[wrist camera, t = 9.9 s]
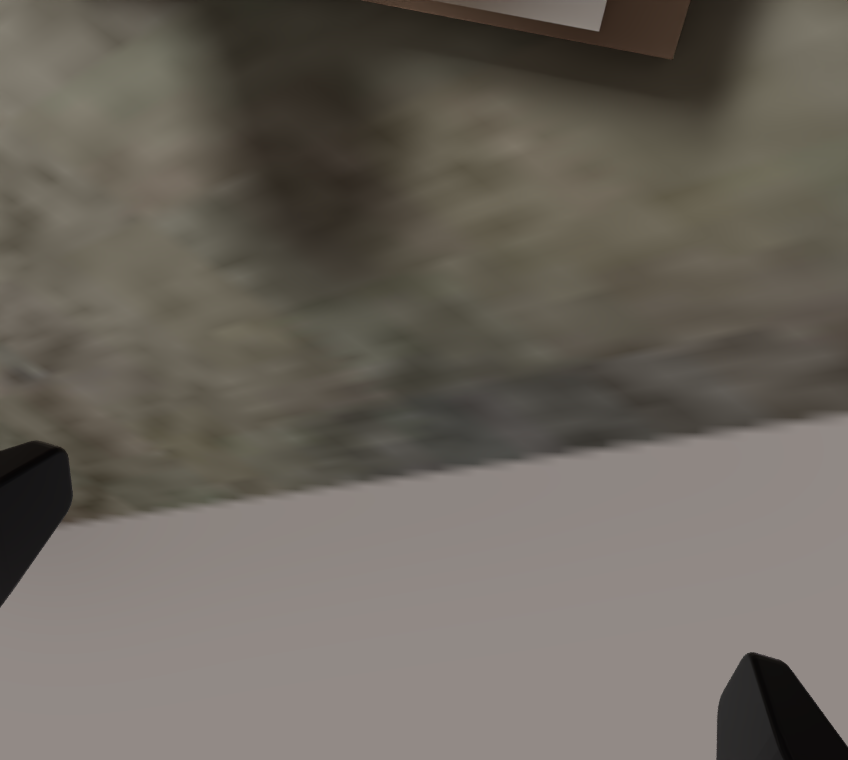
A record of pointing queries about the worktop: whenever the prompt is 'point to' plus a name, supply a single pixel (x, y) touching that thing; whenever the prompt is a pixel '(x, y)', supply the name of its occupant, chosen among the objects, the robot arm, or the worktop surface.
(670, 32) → the caddy
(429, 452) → the worktop surface
